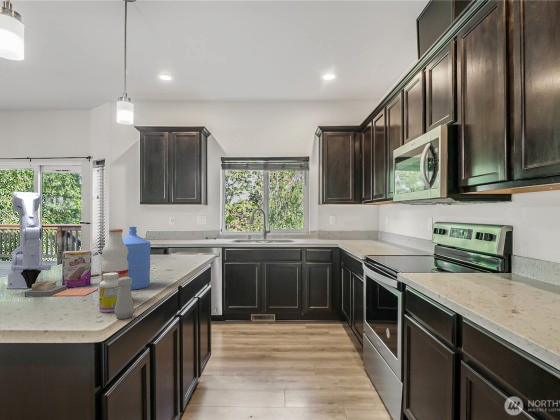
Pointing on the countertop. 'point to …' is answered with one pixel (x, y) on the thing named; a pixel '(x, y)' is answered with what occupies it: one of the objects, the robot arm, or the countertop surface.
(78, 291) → the mat
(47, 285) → the oak tile
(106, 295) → the supplement bottle
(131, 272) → the water jug
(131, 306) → the salt shaker
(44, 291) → the grey square tile
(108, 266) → the fruit juice
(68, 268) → the candy bar box
